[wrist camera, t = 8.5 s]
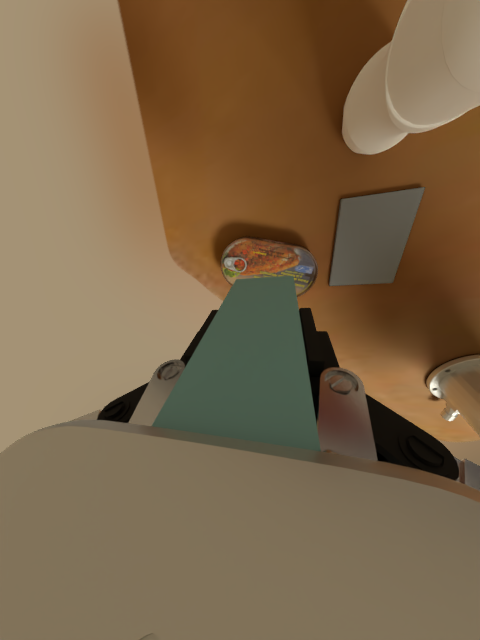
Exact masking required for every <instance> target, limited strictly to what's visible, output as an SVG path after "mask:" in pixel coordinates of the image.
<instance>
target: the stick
mask: <svg viewBox="0 0 480 640" xmlns="http://www.w3.org/2000/svg"><path fill="white" fill-rule="evenodd" d="M152 426H153V427H160V428H167V429H174V430H181V431H188V432H194V433H201V434H208V435H215V436H222V437H228V438H235V439H242V440H249V441H255V442H262V443H269V444H275V445H282V446H288V447H295V448H301V449H308V450H314V451H321V449H320V443H319V437H318V430H317V424H316V417H315V411H314V405H313V398H312V392H311V385H310V379H309V373H308V366H307V360H306V353H305V347H304V341H303V334H302V328H301V321H300V315H299V309H298V302H297V296H296V289H295V283H294V277H293V276H279V277H263V278H246V279H236V280H235V282H234V284H233V286H232V287H231V289H230V291H229V293H228V294H227V296H226V298H225V300H224V301H223V303H222V305H221V306H220V308H219V310H218V312H217V313H216V315H215V317H214V319H213V320H212V322H211V324H210V326H209V327H208V329H207V331H206V332H205V334H204V336H203V338H202V339H201V341H200V343H199V345H198V346H197V348H196V350H195V351H194V353H193V355H192V357H191V358H190V360H189V362H188V364H187V365H186V367H185V369H184V371H183V372H182V374H181V376H180V377H179V379H178V381H177V383H176V384H175V386H174V388H173V390H172V391H171V393H170V395H169V397H168V398H167V400H166V402H165V403H164V405H163V407H162V409H161V410H160V412H159V414H158V416H157V417H156V419H155V421H154V423H153V424H152Z"/></svg>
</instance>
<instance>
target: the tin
mask: <svg viewBox="0 0 480 640" xmlns="http://www.w3.org/2000/svg"><path fill="white" fill-rule="evenodd" d="M221 270H222V274H223V276H224V278H225V279H226V281H227V282H228V283H229V284H230V285H231V286H233V284H234V282H235V280H236V279H246V278H263V277H279V276H293V277H294V283H295V289H296V296H297V297H298V296H301V295H303V294H304V293H306V292H307V291H308V290H309V289H310V288H311V287H312V286H313V284H314V283H315V281H316V278H317V274H318V266H317V262H316V260H315V258H314V256H313V255H312V254H311V253H310V252H309V251H308V250H307V249H306V248H304V247H303V246H300V245H297V244H291V243H285V242H279V241H273V240H267V239H262V238H256V237H241V238H239V239H237V240H235V241H233V242H232V243H230V244H229V245H228V246H227V247H226V249H225V250H224V252H223V254H222V257H221Z"/></svg>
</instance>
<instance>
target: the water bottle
mask: <svg viewBox="0 0 480 640" xmlns="http://www.w3.org/2000/svg"><path fill="white" fill-rule="evenodd" d="M479 105H480V0H407V2H406V4H405V6H404V9H403V11H402V13H401V16H400V19H399V21H398V24H397V27H396V29H395V32H394V36H393V39H392V41H391V42H390V43H388V44H387V45H385V46H384V47H383V48H381V49H380V50H379V51H378V52H377V53H376V54H375V55H374V56H373V57H372V58H371V59H370V60H369V61H368V62H367V63H366V64H365V66H364V67H363V68H362V70H361V71H360V73H359V74H358V76H357V78H356V80H355V81H354V83H353V85H352V87H351V89H350V91H349V94H348V96H347V98H346V102H345V105H344V110H343V125H342V135H343V138H344V141H345V143H346V145H347V146H348V147H349V148H350V149H351V150H352V151H353V152H355V153H360V154H368V155H373V154H377V153H380V152H383V151H385V150H388V149H390V148H391V147H393V146H394V145H396V144H397V143H399V142H400V141H401V140H402V139H403V138H404V137H405V136H406V135H407V134H408V133H421V132H426V131H429V130H432V129H434V128H437V127H439V126H441V125H444V124H446V123H448V122H450V121H452V120H454V119H456V118H458V117H460V116H461V115H463V114H465V113H466V112H468V111H469V110H471V109H473V108H475V107H477V106H479Z"/></svg>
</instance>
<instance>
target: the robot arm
mask: <svg viewBox="0 0 480 640" xmlns="http://www.w3.org/2000/svg"><path fill="white" fill-rule="evenodd" d="M217 312H218V310H212V311H211V313H210V315H209V316H208V318H207V319H206V321H205V323H204V324H203V326H202V327H201V329H200V331H199V332H198V333H197V334H196V336H195V337H194V339H193V340H192V342H191V343H190V345H189V347H188V348H187V350H186V351H185V353H184V355H183V356H182V358H181V359H180V360H170V361H167V362H165V363H163V364H162V365H160V367H158V368H157V369H156V371H155V372H154V374H153V376H152V378H151V380H150V382H148V383H146V384H144V385H142V386H141V387H139V388H137V389H135V390H133V391H131V392H129V393H127V394H125V395H123V396H121V397H119V398H117V399H116V400H114V401H112V402H110V403H109V404H108V405H107V406H106V407H105V408H104V409H103V410H102V411H100V410H97V411H95V412H92V413H90V414H87V415H84V416H82V417H79V418H77V419H74V420H72V421H69V422H64V423H60V424H56V425H52V426H49V427H45V428H42V429H40V430H37V431H35V432H32V433H30V434H28V435H26V436H24V437H22V438H21V439H19V440H17V441H16V442H14V443H13V444H12V445H10V446H9V447H8V448H6V449H5V450H4V451H3V452H1V453H0V640H480V466H479V465H477V464H475V463H473V462H471V461H469V460H467V459H463V460H462V461H461V460H459V459H457V458H455V457H454V456H453V455H452V454H451V453H450V451H449V450H448V449H447V448H446V447H445V446H444V445H443V444H442V443H441V442H440V441H438V440H437V439H436V438H434V437H433V436H431V435H430V434H428V433H427V432H425V431H424V430H422V429H420V428H419V427H417V426H416V425H414V424H413V423H411V422H409V421H408V420H406V419H405V418H403V417H402V416H400V415H398V414H397V413H395V412H394V411H392V410H391V409H389V408H387V407H386V406H384V405H383V404H381V403H380V402H378V401H376V400H375V399H373V398H372V397H370V396H369V395H367V394H365V390H364V386H363V383H362V381H361V380H360V378H359V377H358V376H357V375H355V374H354V373H353V372H351V371H349V370H347V369H343V368H340V367H339V364H338V361H337V359H336V356H335V353H334V350H333V347H332V344H331V341H330V338H329V336H328V333H327V332H326V331H316V327H315V323H314V320H313V316H312V312H311V309H310V308H300V309H299V315H300V321H301V328H302V334H303V341H304V347H305V353H306V360H307V366H308V373H309V379H310V385H311V392H312V398H313V405H314V411H315V417H316V424H317V430H318V437H319V443H320V449H321V451H314V450H308V449H301V448H295V447H288V446H282V445H275V444H269V443H262V442H255V441H249V440H242V439H235V438H228V437H222V436H215V435H208V434H201V433H194V432H188V431H181V430H174V429H167V428H160V427H153V426H152V424H153V423H154V421H155V419H156V417H157V416H158V414H159V412H160V410H161V409H162V407H163V405H164V403H165V402H166V400H167V398H168V397H169V395H170V393H171V391H172V390H173V388H174V386H175V384H176V383H177V381H178V379H179V377H180V376H181V374H182V372H183V371H184V369H185V367H186V365H187V364H188V362H189V360H190V358H191V357H192V355H193V353H194V351H195V350H196V348H197V346H198V345H199V343H200V341H201V339H202V338H203V336H204V334H205V332H206V331H207V329H208V327H209V326H210V324H211V322H212V320H213V319H214V317H215V315H216V313H217ZM426 385H427V388H428V389H429V390H430V392H431V393H432V394H433V395H435V396H436V397H438V398H441V399H444V400H445V401H446V402H447V403H446V408H445V409H444V410H443V411H442V412H441V416H442V417H443V418H444V419H446V420H448V421H453V420H454V419H455V418H456V417H457V415H458V414H461V415H462V416H463V417H464V419H465V420H466V421H467V422H468V423H469V425H470V426H471V427H472V428H473V429H474V431H475V432H476V433H477V434H478V435H479V436H480V355H472V356H466V357H462V358H458V359H455V360H452V361H449V362H447V363H445V364H443V365H441V366H439V367H438V368H436V369H435V370H434V371H433V372H432V373H431V374H430V375H429V377H428V379H427V383H426Z"/></svg>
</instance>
